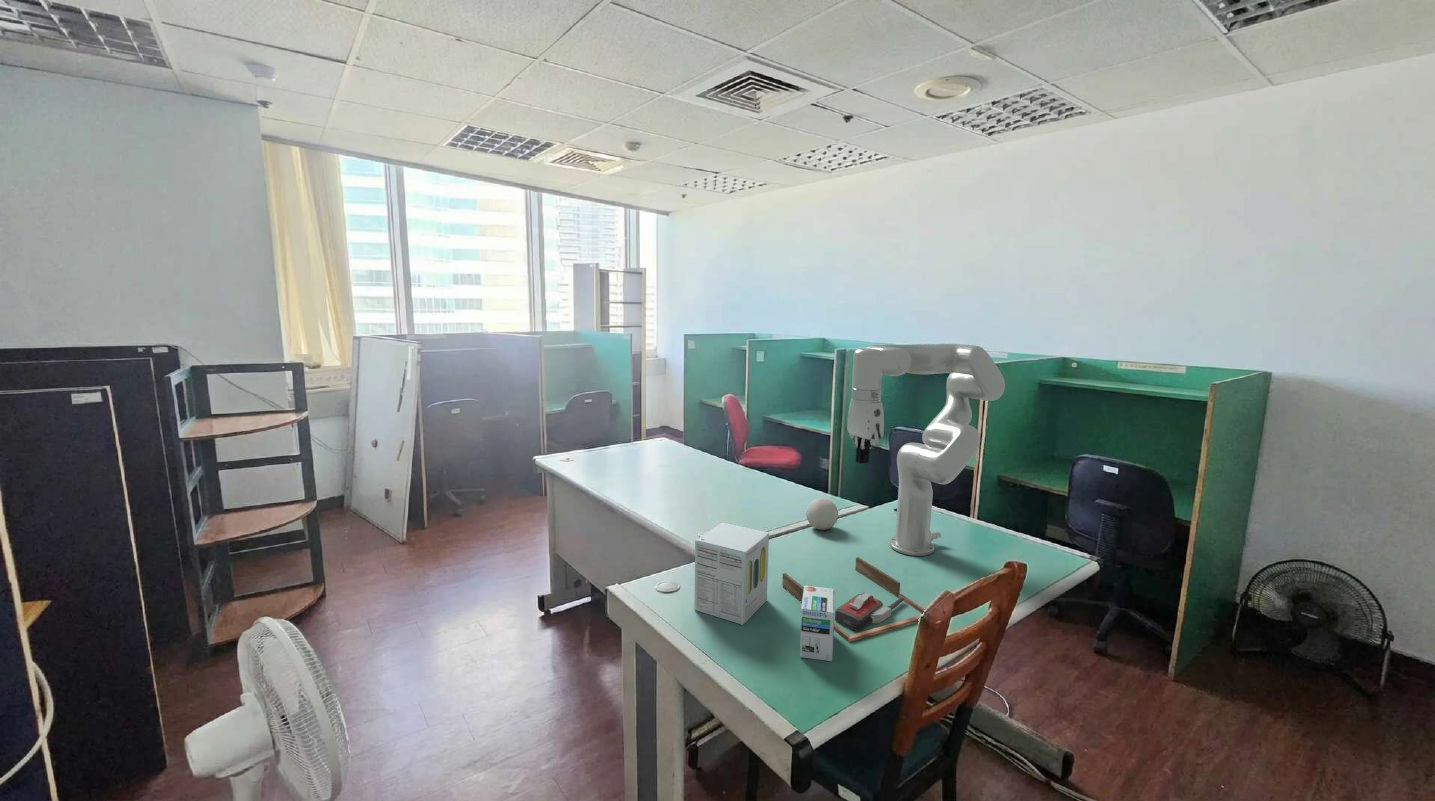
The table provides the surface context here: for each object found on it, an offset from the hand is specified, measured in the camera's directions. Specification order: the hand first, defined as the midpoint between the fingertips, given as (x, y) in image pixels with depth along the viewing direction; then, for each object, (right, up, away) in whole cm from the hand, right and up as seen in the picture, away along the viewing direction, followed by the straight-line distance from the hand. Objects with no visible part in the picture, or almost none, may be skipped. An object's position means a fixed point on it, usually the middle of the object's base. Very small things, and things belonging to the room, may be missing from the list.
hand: (862, 462), depth 157 cm
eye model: (-6, -25, +30) cm, 39 cm away
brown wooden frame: (-6, -32, -16) cm, 36 cm away
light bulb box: (-18, -35, -34) cm, 52 cm away
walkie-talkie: (-4, -34, -21) cm, 40 cm away
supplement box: (-36, -32, -18) cm, 52 cm away
